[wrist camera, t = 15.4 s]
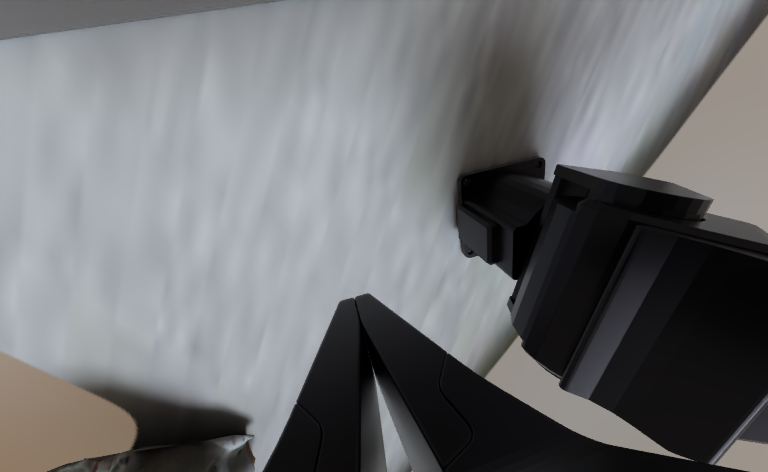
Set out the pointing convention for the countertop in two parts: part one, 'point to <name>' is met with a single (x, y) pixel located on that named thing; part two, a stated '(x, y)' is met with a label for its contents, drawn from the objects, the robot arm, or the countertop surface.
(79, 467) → the lucky cat figurine
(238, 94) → the countertop surface
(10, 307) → the countertop surface
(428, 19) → the countertop surface
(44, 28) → the slate mat
